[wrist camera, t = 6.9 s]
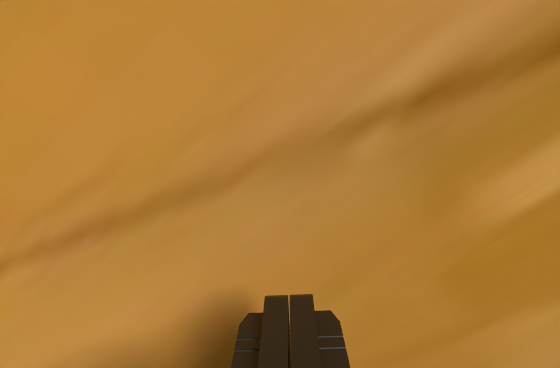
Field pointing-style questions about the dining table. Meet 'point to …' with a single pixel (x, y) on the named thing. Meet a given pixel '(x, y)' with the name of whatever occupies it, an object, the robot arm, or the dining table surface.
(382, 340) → the dining table surface
